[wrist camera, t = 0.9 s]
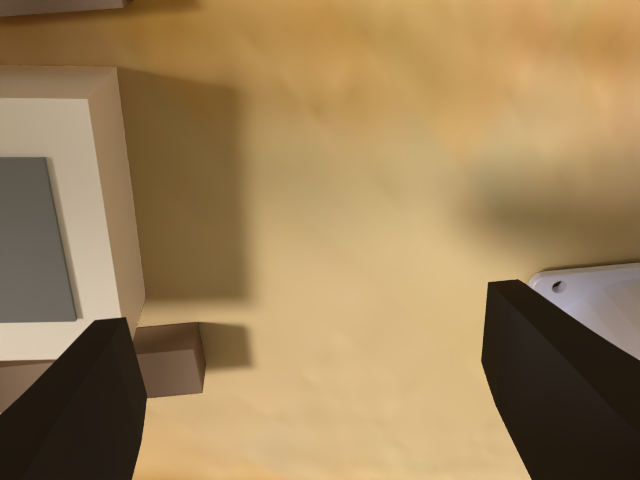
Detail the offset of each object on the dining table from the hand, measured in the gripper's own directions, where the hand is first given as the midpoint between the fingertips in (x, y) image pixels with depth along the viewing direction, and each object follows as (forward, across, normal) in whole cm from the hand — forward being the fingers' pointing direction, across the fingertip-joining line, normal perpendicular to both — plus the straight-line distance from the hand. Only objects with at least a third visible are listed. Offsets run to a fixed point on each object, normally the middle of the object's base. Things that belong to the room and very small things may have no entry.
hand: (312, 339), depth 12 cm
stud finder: (+9, +8, 0) cm, 12 cm away
